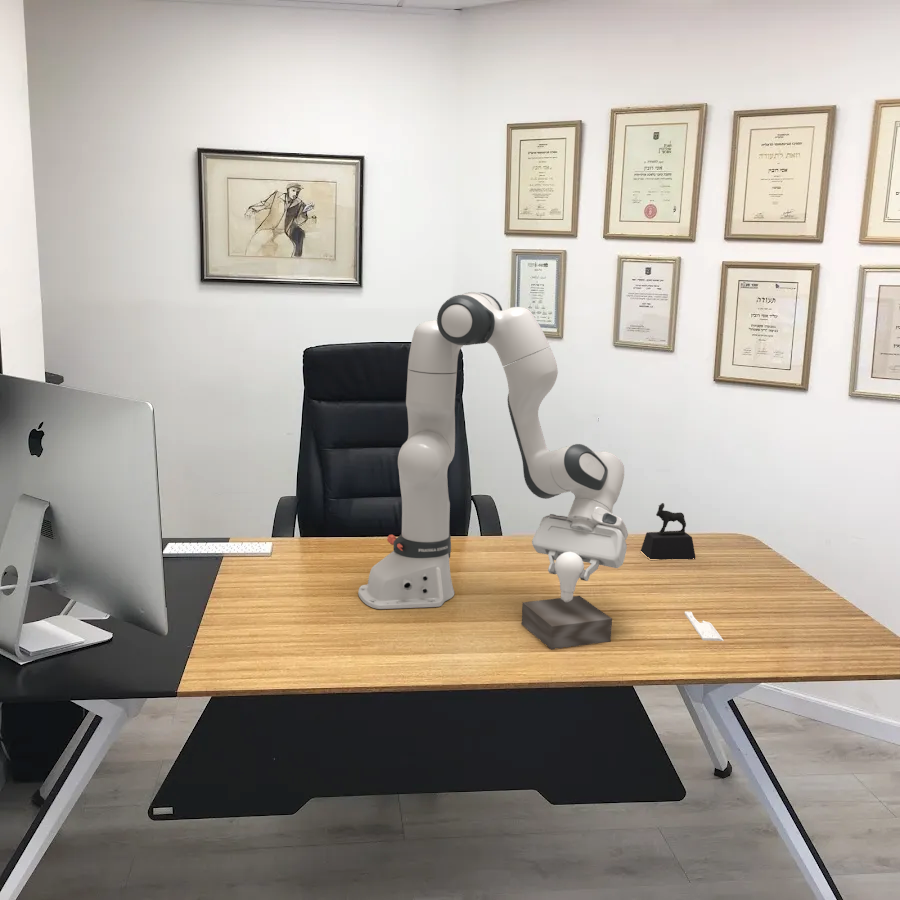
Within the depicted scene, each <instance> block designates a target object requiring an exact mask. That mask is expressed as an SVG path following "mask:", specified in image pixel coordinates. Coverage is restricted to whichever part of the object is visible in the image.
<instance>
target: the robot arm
mask: <svg viewBox="0 0 900 900" xmlns="http://www.w3.org/2000/svg"><path fill="white" fill-rule="evenodd" d="M486 343H487V344H489V345H491V346H492V347H493V349H495V351H496V353H497V355H498V358H499V360H500V363H501V366H502V368H503V371H504V373H505V378H506V381H507V386H508V387H507V388H508V394H507V407H508V413H509V417H510V419H511V424H512V427H513V431H514V434H515V439H516V440H517V444H518V448H519V451H520V455H521V461H522V468H523V478H524V482H525V485H526V486H527V488H528V489H529V491H530V492H531V493H532V494H533V495H535V497H538V498H540V499H546V500H547V499H551V498H554V497H556V496H560V495H562V494H565V493H569V492H570V493H572V494H573V495H574V499H573V501H572V504H571V507H570V509H569V512H568V515H567V516H565V515H557V514H554V513H550V514H549V515H545V516H543V517H542V518H541V520H540V523H539V526H538V528H537V529H536V532H535V533H534V535H533V537H532V540H531V544H532V547H533V548H534V550H535V551H536V552H537V553H539V554H541V555H547V557H548V560H549V566H548V568H547V572H548V573H549V574H551V575H557V573H556V571H555V562H556V559H557V558H558V557H559V556H560V555H561V554H563V553H565V552H574V553H576V554H578V555H579V556H580V557H581V558H582V560H583V563H588V564H590V565H589V566H588V567H587V568H586V569H584V570H582V572H581V574H580V578H579V579H580V580H581V581H586V582H588V581H589V579H590V576H591V575H593V574H594V573H595V572H596V571H597V570H598V569H599V567H600V566H604V567H607V568H608V567H609V568H614V569H619V568H620V567H621V566H623V563H624V561H625V558H626V554H627V548H628V546H627V541H626V540H627V539H628V537H629V536H628V535H629V532H628V529H627V526H626V524H625V522H624V520H623V519H622V518H621V517H620V516H618V515H616V514H613V508H614V506H615V504H616V503H617V502H618V499H619V496H620V494H621V491H622V488H623V484H624V479H625V465H624V464H623V461H622V460H621V459H620V457H618V456H616V455H615V454H613V453H611V452H610V451H605V450H604V451H603V450H602V451H595V450H592V449H590V448H589V447H588V446H586V445H585V444H581V443H575V444H569V445H568V446H564V447H561V448H557V449H555V450H552V451H550V450H549V449H548V447H547V445H546V440H545V437H544V434H543V431H542V426H541V423H540V420H539V409H540V405H541V404H542V402H543V400H544V399H545V397H546V396H547V395H548V394H549V392H550V391H552V389H553V387H554V386H555V383H556V381H557V378H558V373H559V371H558V364H557V361H556V358H555V355H554V353H553V350H552V348H551V345H550V343H549V342H548V339H547V337H546V335H545V333H544V330H543V329H542V327H541V325H540V324H539V321H538V320H537V319H536V317H535V316H534V314H533V313H532V311H531V310H529V309H528V308H526V307H524V306H511V307H508V308H506V309H503V308H502V305H501V304H500V302H499V301H498V300H497V299H496V298H495V297H494V296H492V295H491V294H488V293H485V292H474V291H471V292H464V293H462V294H457V295H454V296H451V297H450V298H448V299H447V300H445V302H443V304H442V305H441V306H440V308H439V310H438V312H437V317H436V319H435V320H434V319H433V320H426V321H423V322H421V323H419V324H418V325H417V326H416V327H415V329H414V332H413V335H412V338H411V344H410V347H409V348H410V349H409V354H408V363H407V377H406V378H407V381H406V395H405V396H406V397H405V406H406V409H407V410H406V411H407V422H408V425H407V426H408V435H407V440H406V441H405V442H404V443H403V444H402V445H401V447H400V449H399V452H398V456H397V469H398V475H399V486H400V487H399V488H400V494H401V534H400V535H399V536H398V537H396V535H394V534H389V535H388V536H387V538H386V539H387V540H386V541H387V542H388V544H390V545H391V546H393V550H392V551H391V552H390V553H389V554H388V555H386V556H385V557H384V558H382V559H381V560H379V561H378V562H377V563H376V564H374V565H372V567H371V569H370V572H369V575H368V579H367V584H362V585H360V587H358V597H359V598H360V600H361V601H362V602H363V603H364V604H365V605H367V606H368V607H371V608H373V609H377V610H386V609H387V610H388V609H393V610H394V609H414V608H415V609H417V608H435V607H436V608H439V607H442V606H443V605H444V603H445V602H446V601H448V600H450V599H452V598H453V597H454V596H455V590H454V587H453V581H452V577H451V576H452V575H451V568H450V559H451V552H452V539H451V537H452V536H451V534H450V514H451V513H450V512H451V511H450V510H451V509H450V508H451V502H450V497H449V487H448V486H449V484H448V469H449V466H450V464H451V462H452V461H453V460H454V457H455V451H456V448H455V447H456V414H455V413H456V412H455V407H456V388H457V378H458V377H457V373H458V361H459V360H458V359H459V353H460V351H461V349H462V348H463V346H471V345H480V344H486Z"/></svg>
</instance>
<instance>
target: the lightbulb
mask: <svg viewBox="0 0 900 900" xmlns="http://www.w3.org/2000/svg"><path fill="white" fill-rule="evenodd" d="M554 562H555V571H556V573H557V574H556V576H557V578H558V581H559V589H560V598H561V599H562V600H564V602H569V601H571V600H572V599H573V596H574V592H575V590H576V586H577V583H578V582H579V581H578V580H579V579H581V578H580V574H581V572H582V570H585V565H584V564H585V562H583V560H582V558H581V557H580V556H579V555H578V554H576V553H574V552H565V553H563V554H561V555H560V556H559V557H558V558H557V559H556V560H555V561H554Z"/></svg>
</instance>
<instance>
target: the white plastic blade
mask: <svg viewBox="0 0 900 900" xmlns="http://www.w3.org/2000/svg"><path fill="white" fill-rule="evenodd" d="M684 616H685V617H686V618H687V620H688V619H689V620H688V621H689V623H690V624H691V625H692V626H693V628H694V630H695V631H696V633H697V634H698V636H699V637H700V638H701V640H702V641H709V642H711V641H712V642H713V641H716V642H718V641H720V642H721V641H722V642H724V639H723V637H722V636H721V634H720V633H719V632H718V631H717V629H716V627H714V625H713V624H712V623H711V622H709V621H705V620H702V621H701V622H699V621H698V620H697V619H696V618H695V616H694V614H693V612H692V611H684Z"/></svg>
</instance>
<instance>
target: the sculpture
mask: <svg viewBox="0 0 900 900" xmlns="http://www.w3.org/2000/svg"><path fill="white" fill-rule="evenodd" d="M664 508H665V503H663V502H662V503H660V504H659V505H658V509H657V512H656V516H657V517H659V518H660V519H661V521H663V522H662V527H661V528H660V530H659V531H653V532H651V531H650V532H649V531H648V532H646V533H645V536H644V540H643V543H642V545H641V549H640V551H642V552H643V553H644V554H645V555H646V556H647V557H649V558H650V559H688V560H696V559H695V558H696V553H695V545H694V541H693V537H692V536H691V535H690V534H689V533H687V532H686V527H687V522H686V519H685V513H683V512H672V511H669V510H664ZM669 522H672V523H674V522H678V523H679V524H680V525H681V526H682V528H681V530H666V528H667V526H668V523H669ZM693 558H694V559H693Z"/></svg>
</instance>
